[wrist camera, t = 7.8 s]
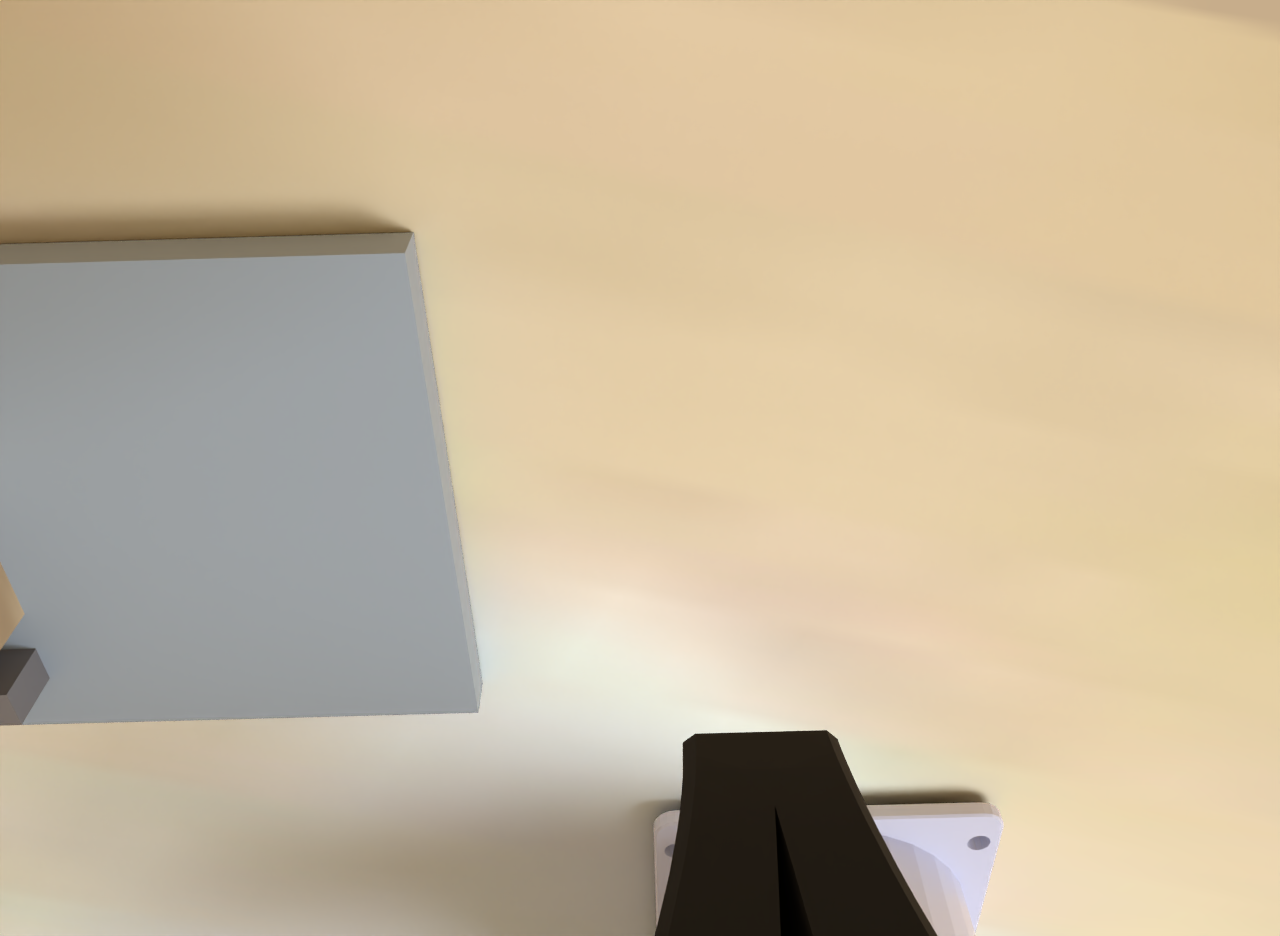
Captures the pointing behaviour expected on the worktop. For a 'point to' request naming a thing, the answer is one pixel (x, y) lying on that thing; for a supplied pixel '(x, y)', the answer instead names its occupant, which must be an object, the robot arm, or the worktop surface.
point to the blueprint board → (226, 484)
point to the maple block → (8, 608)
